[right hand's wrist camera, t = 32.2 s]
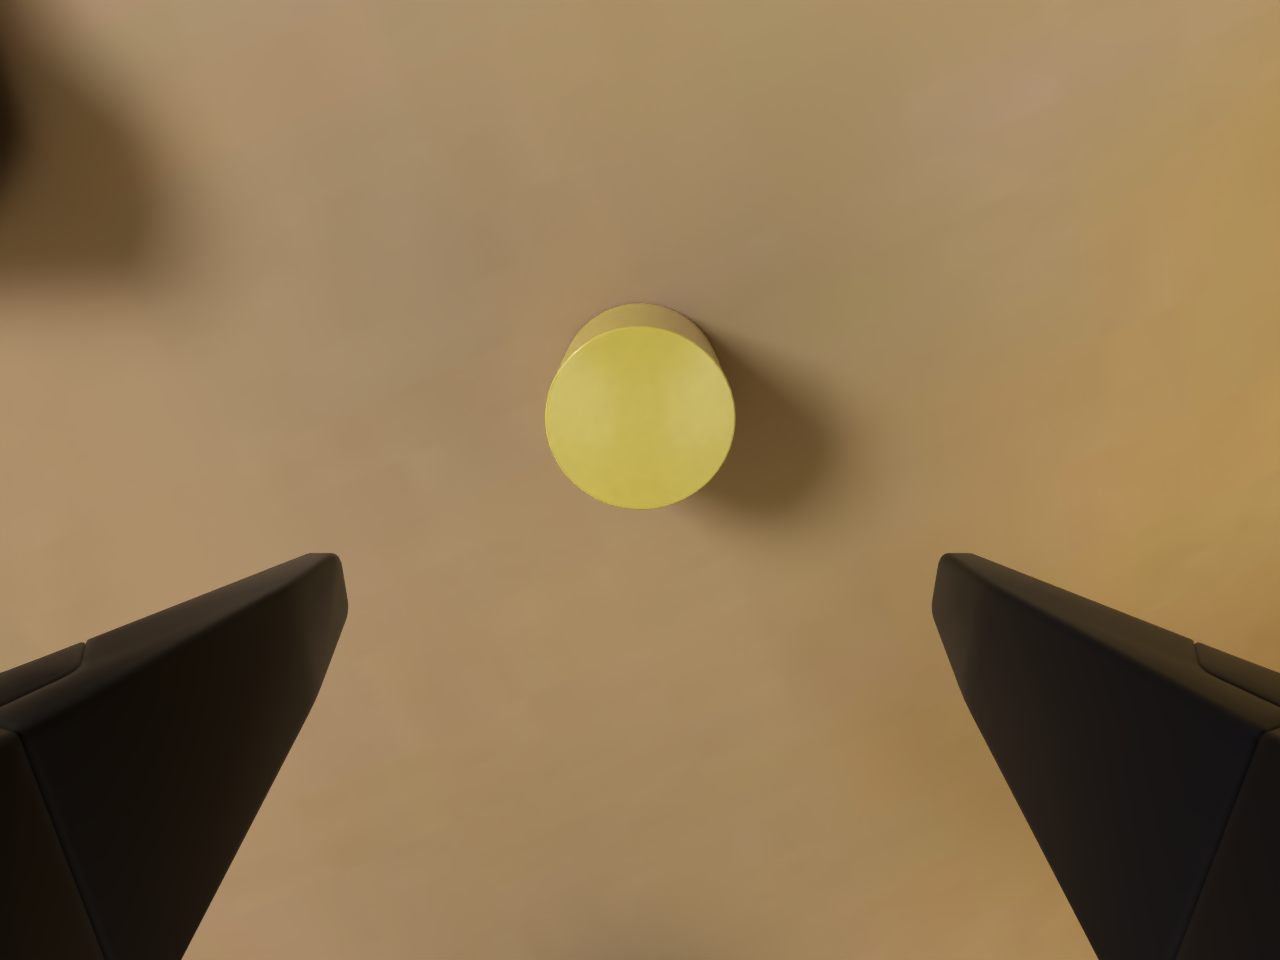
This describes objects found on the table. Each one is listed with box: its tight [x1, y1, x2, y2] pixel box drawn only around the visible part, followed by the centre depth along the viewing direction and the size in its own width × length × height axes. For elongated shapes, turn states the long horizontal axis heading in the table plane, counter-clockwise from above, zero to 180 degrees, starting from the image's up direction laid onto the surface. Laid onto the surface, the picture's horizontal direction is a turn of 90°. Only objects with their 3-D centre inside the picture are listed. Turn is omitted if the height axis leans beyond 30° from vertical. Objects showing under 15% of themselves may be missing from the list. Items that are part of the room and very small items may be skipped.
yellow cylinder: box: [545, 303, 736, 509], centre depth 20 cm, size 5×5×4 cm
